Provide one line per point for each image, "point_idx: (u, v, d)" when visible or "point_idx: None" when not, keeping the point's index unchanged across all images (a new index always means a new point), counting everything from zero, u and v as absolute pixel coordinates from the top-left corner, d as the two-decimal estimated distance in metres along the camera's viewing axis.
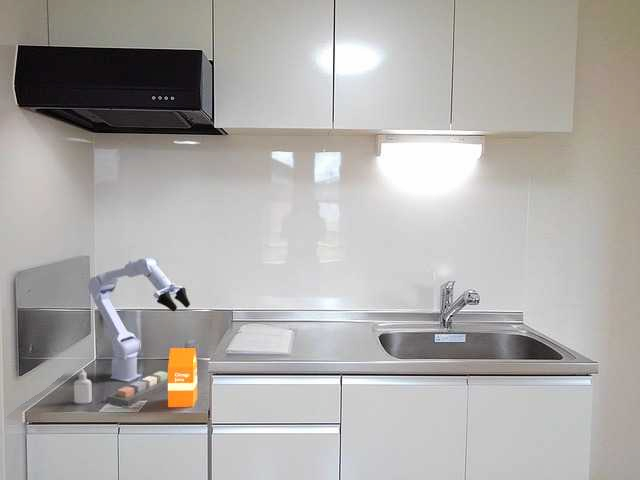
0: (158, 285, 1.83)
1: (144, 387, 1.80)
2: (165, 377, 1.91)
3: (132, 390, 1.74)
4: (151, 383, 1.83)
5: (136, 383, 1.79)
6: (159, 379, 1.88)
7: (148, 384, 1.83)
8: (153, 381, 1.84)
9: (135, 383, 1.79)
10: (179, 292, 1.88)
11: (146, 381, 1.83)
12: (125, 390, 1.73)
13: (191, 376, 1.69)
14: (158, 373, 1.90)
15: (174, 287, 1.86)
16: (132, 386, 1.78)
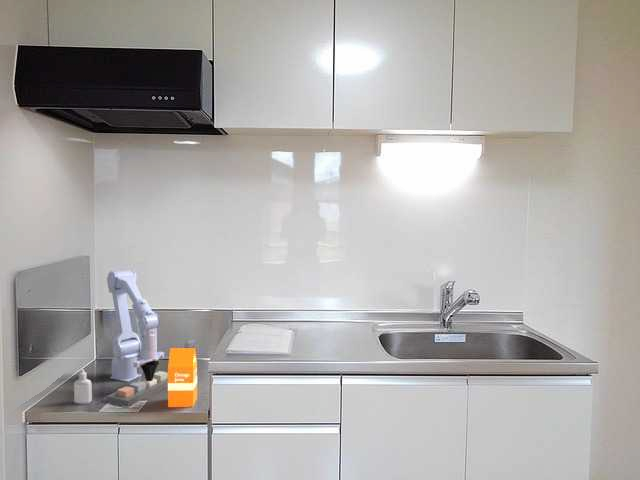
0: (144, 351, 1.81)
1: (144, 387, 1.80)
2: (165, 377, 1.91)
3: (132, 390, 1.74)
4: (151, 385, 1.83)
5: (136, 383, 1.79)
6: (159, 379, 1.88)
7: None
8: (153, 383, 1.84)
9: (135, 383, 1.79)
10: None
11: (146, 383, 1.83)
12: (125, 390, 1.73)
13: (191, 376, 1.69)
14: (158, 373, 1.90)
15: None
16: (132, 386, 1.78)
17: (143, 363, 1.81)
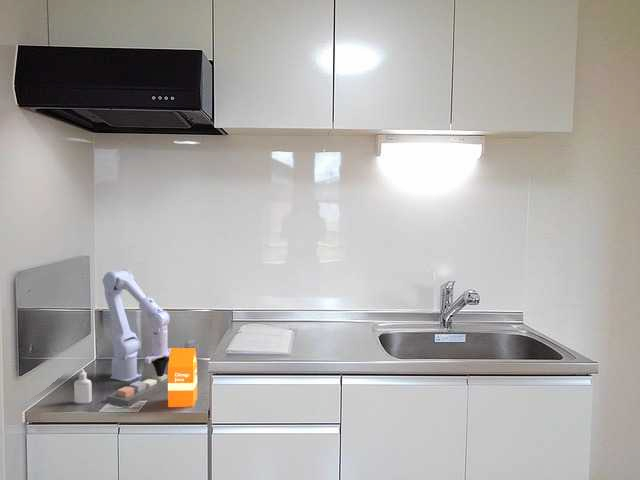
0: (155, 347, 1.87)
1: (144, 387, 1.80)
2: None
3: (132, 390, 1.74)
4: None
5: (136, 383, 1.79)
6: None
7: None
8: (153, 384, 1.84)
9: (135, 383, 1.79)
10: None
11: (146, 384, 1.83)
12: (125, 390, 1.73)
13: (191, 376, 1.69)
14: None
15: None
16: (132, 386, 1.78)
17: (154, 359, 1.87)
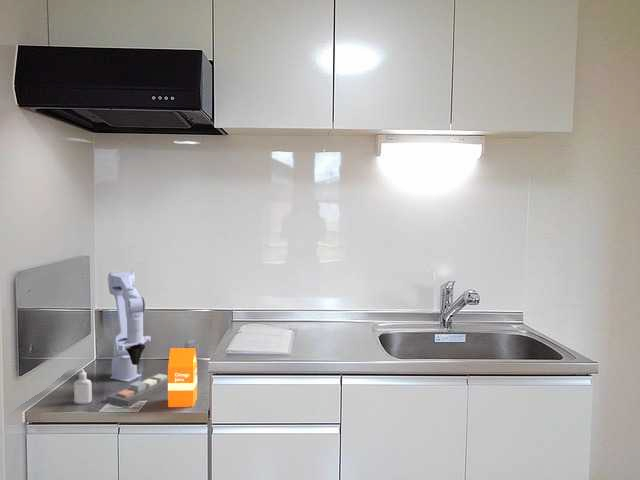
0: (130, 335, 1.80)
1: (144, 387, 1.80)
2: None
3: (132, 393, 1.74)
4: None
5: (136, 383, 1.79)
6: None
7: None
8: (153, 384, 1.84)
9: (135, 383, 1.79)
10: None
11: (146, 384, 1.83)
12: (125, 393, 1.73)
13: (191, 376, 1.69)
14: (158, 376, 1.90)
15: None
16: (132, 386, 1.78)
17: (129, 346, 1.79)
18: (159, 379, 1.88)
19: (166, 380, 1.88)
